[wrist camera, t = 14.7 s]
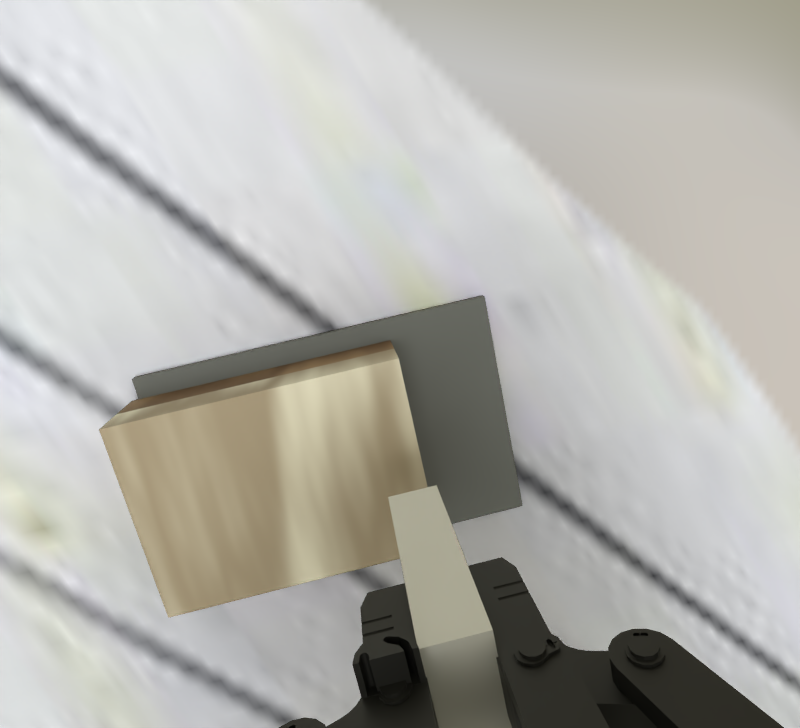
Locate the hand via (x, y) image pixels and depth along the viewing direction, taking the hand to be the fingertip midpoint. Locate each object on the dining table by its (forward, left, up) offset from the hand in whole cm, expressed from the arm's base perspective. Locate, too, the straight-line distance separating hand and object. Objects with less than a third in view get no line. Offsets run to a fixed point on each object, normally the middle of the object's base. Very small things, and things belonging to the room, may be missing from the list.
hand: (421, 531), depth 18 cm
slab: (+1, 0, -7) cm, 7 cm away
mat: (-2, 0, -9) cm, 9 cm away
